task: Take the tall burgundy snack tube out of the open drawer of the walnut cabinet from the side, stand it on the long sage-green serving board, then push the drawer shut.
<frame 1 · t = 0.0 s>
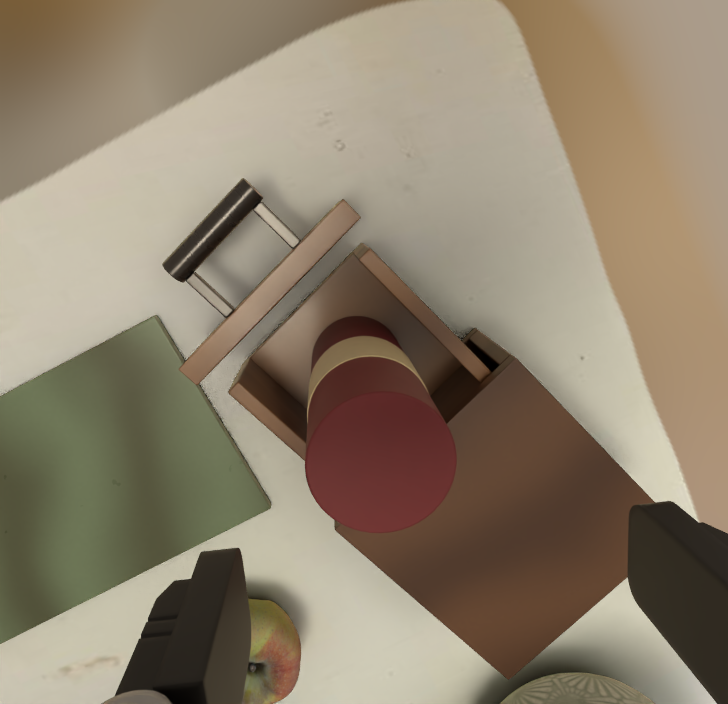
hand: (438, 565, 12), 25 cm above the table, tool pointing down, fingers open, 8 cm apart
apple: (261, 624, 41), on the table
snack tube: (356, 359, 35), point 2 cm above the table, touching drawer
drawer: (321, 333, 32), point 4 cm above the table, slide at 10.0 cm, touching snack tube
cabinet: (473, 466, 39), on the table
board: (7, 520, 38), on the table
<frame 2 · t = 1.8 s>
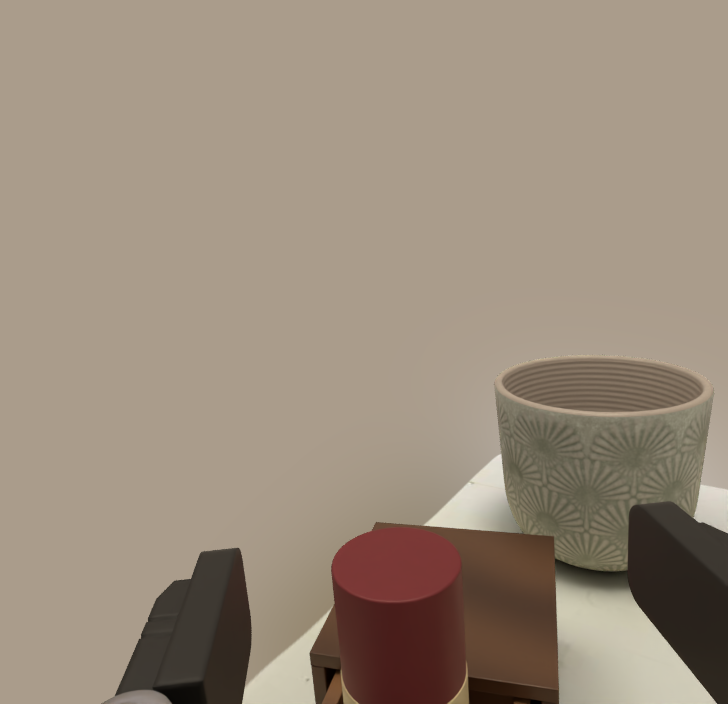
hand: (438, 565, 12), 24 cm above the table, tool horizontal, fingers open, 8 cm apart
planter: (594, 543, 54), on the table
cabinet: (452, 698, 38), on the table
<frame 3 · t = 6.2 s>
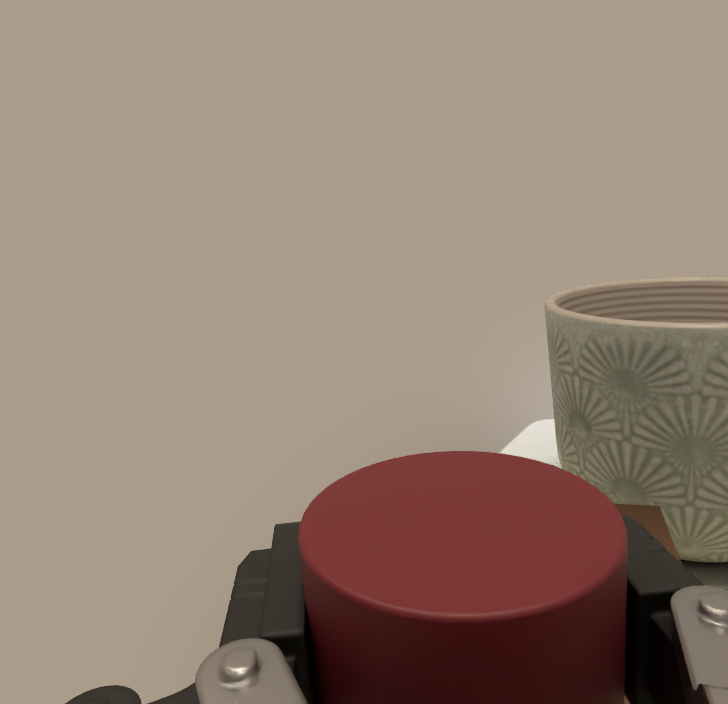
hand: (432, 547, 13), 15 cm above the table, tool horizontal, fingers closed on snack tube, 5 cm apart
planter: (680, 526, 40), on the table
when the fingers open (13 cm above the table, at t = 14.9 s): snack tube stays where it is, resting on board.
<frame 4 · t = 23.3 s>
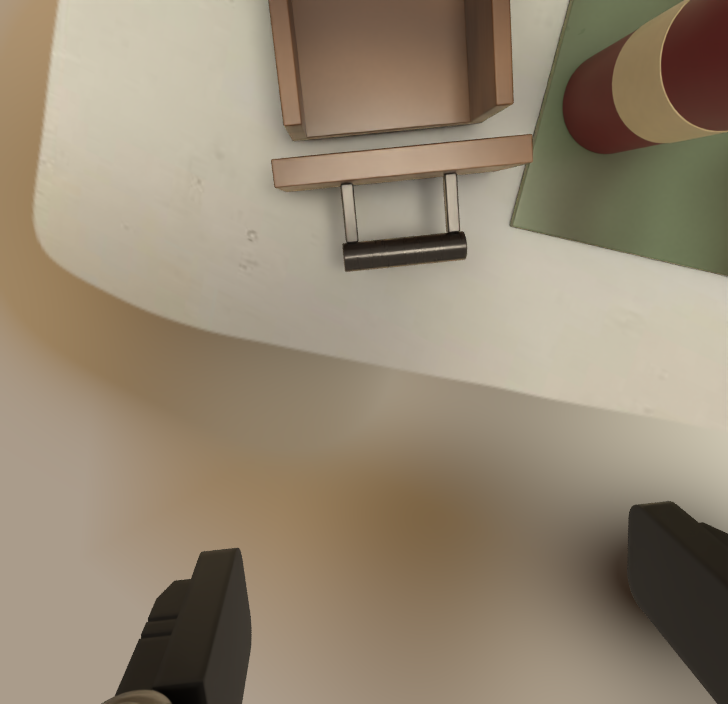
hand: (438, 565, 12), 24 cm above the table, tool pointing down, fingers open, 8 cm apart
snack tube: (609, 103, 32), point 1 cm above the table, touching board
drawer: (389, 87, 28), point 4 cm above the table, slide at 10.0 cm
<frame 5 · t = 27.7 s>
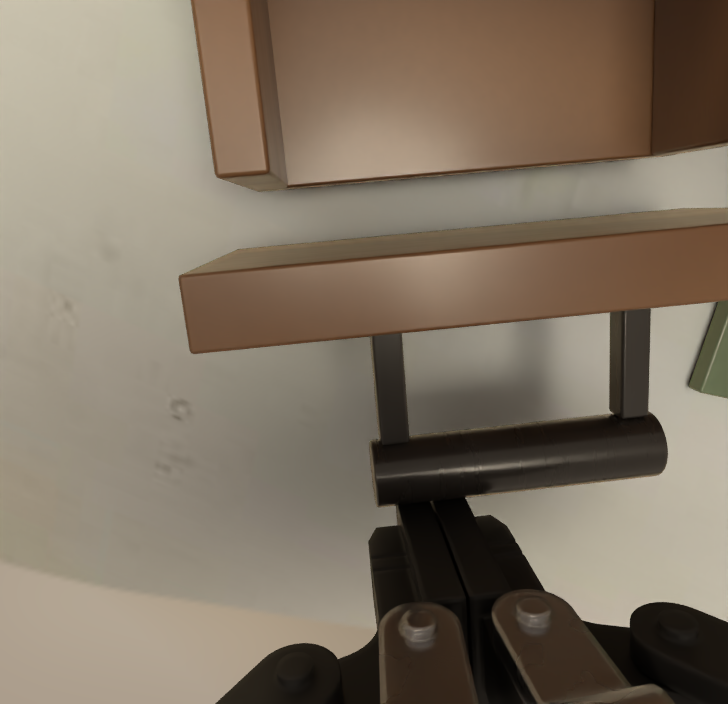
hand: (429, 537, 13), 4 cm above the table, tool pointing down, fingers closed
drawer: (494, 74, 11), point 4 cm above the table, slide at 9.1 cm, touching gripper
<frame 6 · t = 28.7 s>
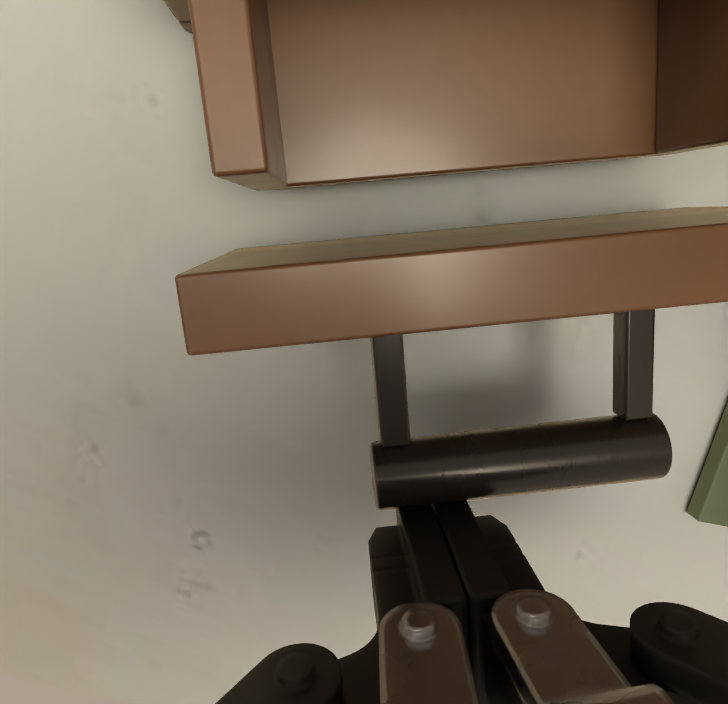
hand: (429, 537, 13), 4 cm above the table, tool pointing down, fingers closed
drawer: (496, 70, 11), point 4 cm above the table, slide at 5.1 cm, touching gripper
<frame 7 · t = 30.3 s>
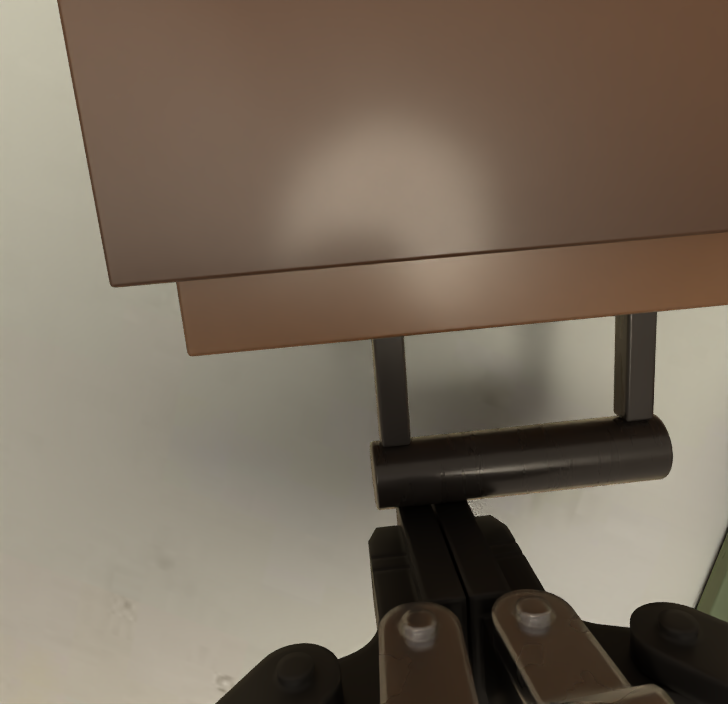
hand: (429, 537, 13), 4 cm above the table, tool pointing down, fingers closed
drawer: (500, 69, 11), point 4 cm above the table, slide at 0.0 cm, touching cabinet, gripper
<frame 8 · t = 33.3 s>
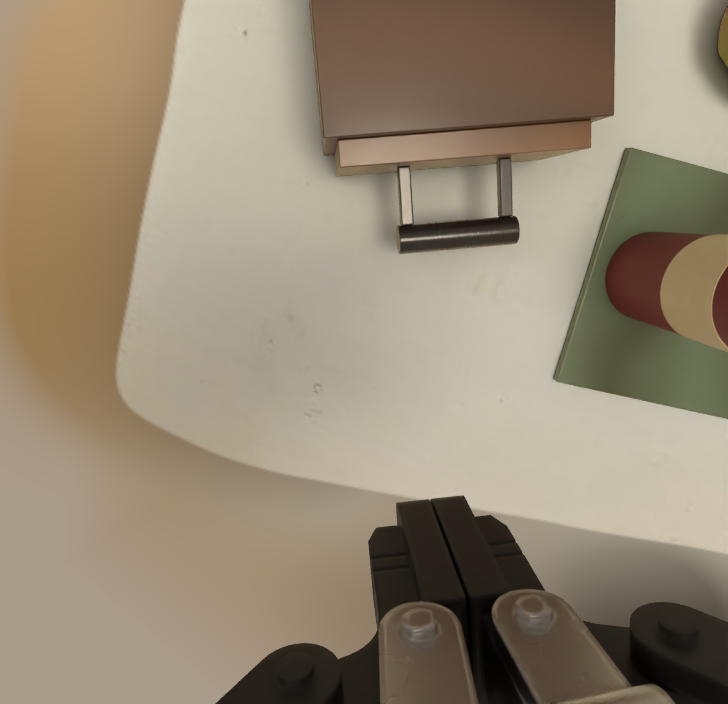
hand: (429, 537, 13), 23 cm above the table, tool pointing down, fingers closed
snack tube: (647, 276, 35), point 1 cm above the table, touching board
drawer: (447, 73, 29), point 4 cm above the table, slide at 0.0 cm
cabinet: (428, 12, 32), on the table
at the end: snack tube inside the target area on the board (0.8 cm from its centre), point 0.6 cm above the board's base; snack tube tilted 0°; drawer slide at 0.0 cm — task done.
